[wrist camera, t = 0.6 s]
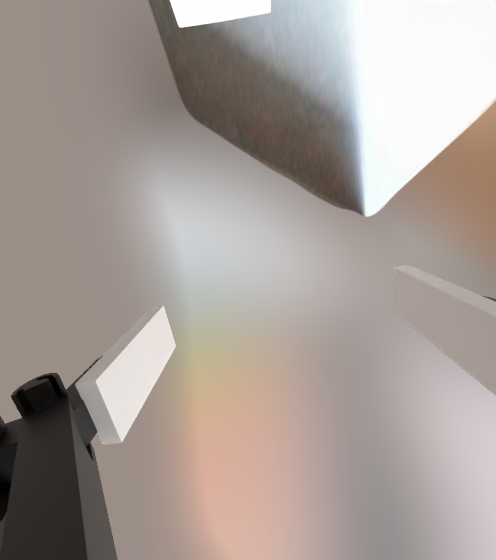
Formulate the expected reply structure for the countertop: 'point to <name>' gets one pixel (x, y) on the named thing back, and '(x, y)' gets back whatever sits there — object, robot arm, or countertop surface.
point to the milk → (216, 10)
